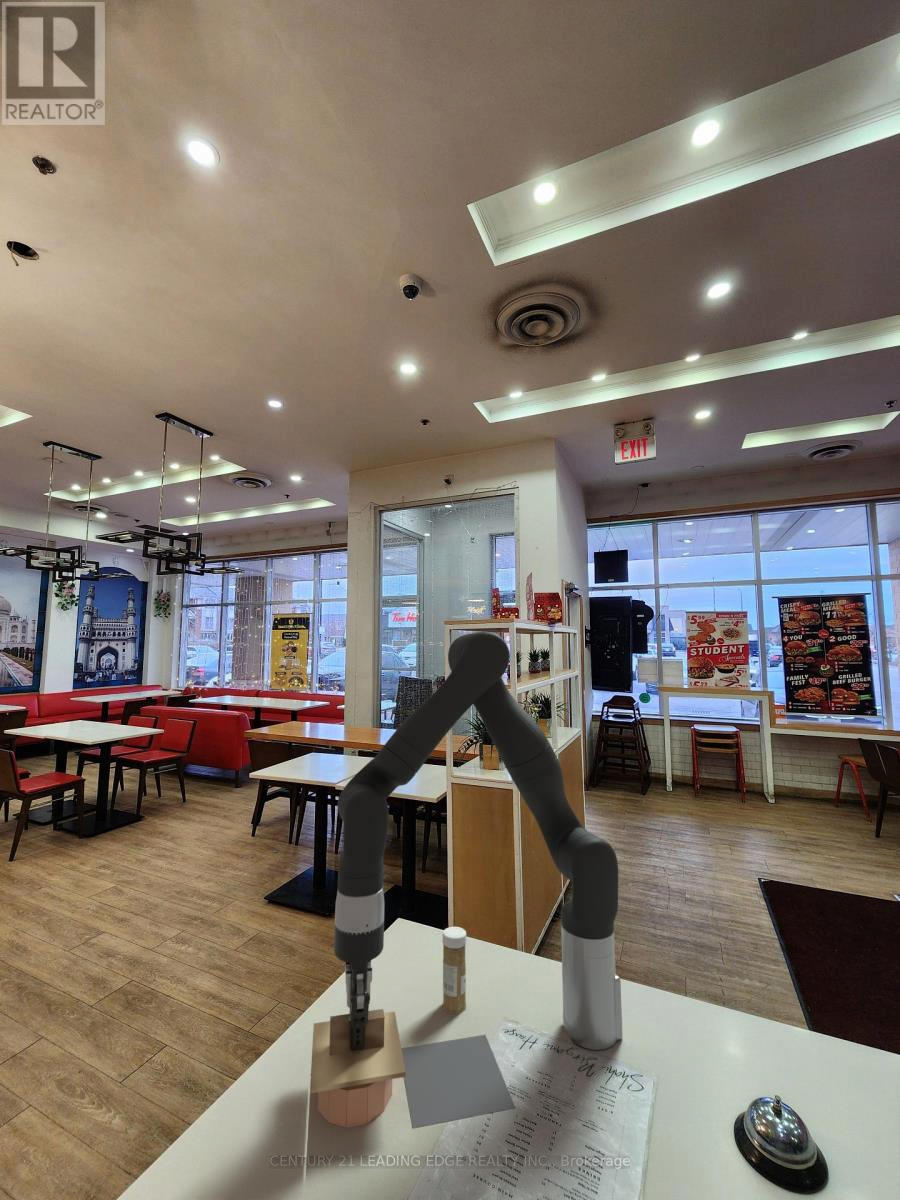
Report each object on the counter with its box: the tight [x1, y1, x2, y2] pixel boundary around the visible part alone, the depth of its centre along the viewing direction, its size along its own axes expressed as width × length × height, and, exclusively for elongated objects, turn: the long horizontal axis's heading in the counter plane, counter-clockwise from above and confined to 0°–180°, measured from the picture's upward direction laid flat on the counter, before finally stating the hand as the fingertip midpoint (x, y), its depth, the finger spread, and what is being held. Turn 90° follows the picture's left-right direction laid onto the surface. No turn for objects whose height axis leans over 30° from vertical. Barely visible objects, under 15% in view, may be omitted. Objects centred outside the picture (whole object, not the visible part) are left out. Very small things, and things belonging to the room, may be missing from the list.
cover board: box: [309, 1008, 406, 1094], centre depth 77 cm, size 13×13×5 cm
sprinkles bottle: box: [442, 926, 467, 1015], centre depth 96 cm, size 5×5×13 cm
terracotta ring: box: [317, 1079, 393, 1128], centre depth 76 cm, size 11×11×5 cm
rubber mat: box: [401, 1034, 516, 1129], centre depth 79 cm, size 15×15×1 cm
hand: (356, 1040), depth 77 cm, fingers open, 2 cm apart
